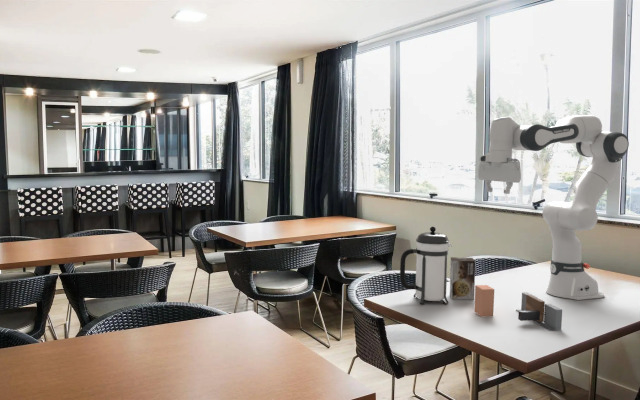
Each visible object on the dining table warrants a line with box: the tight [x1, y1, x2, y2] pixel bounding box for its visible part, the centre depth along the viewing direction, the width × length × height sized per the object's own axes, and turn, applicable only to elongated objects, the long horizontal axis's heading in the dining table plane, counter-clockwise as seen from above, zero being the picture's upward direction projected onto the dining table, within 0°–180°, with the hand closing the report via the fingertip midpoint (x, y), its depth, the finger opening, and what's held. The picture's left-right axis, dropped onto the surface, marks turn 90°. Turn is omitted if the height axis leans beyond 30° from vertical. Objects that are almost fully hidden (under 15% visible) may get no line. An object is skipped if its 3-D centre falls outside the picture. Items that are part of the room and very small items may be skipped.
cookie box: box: [449, 256, 476, 300], centre depth 214 cm, size 9×6×16 cm
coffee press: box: [399, 226, 452, 306], centre depth 207 cm, size 17×16×30 cm
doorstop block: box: [473, 284, 495, 317], centre depth 193 cm, size 4×6×10 cm
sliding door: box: [517, 294, 546, 323], centre depth 185 cm, size 9×9×7 cm
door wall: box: [515, 291, 563, 331], centre depth 186 cm, size 4×22×7 cm, turn 9°
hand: (497, 192), depth 208 cm, fingers open, 8 cm apart
